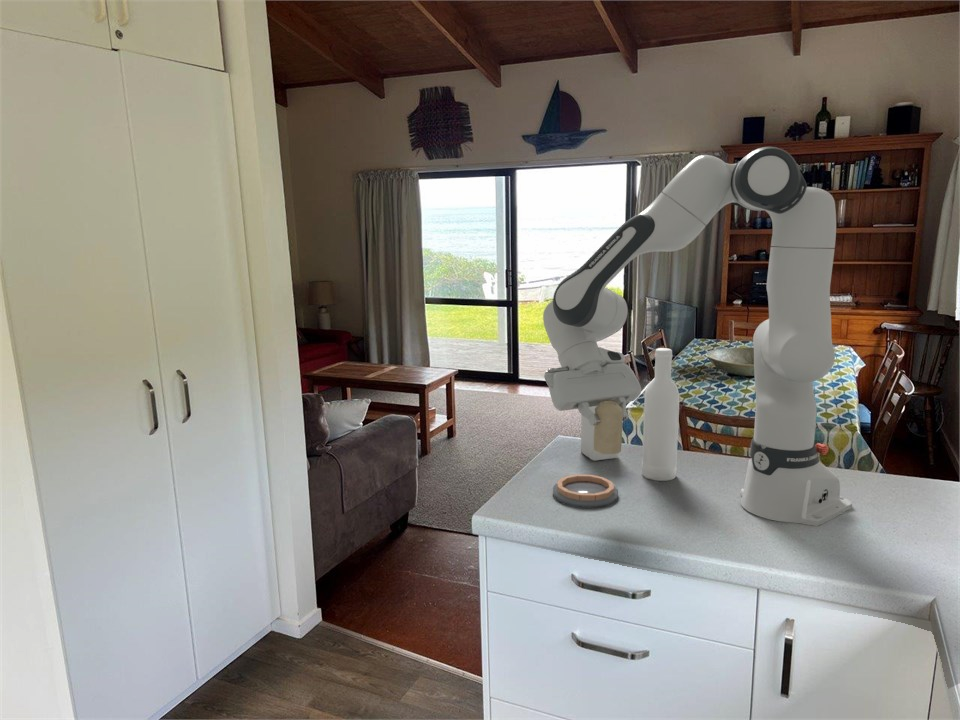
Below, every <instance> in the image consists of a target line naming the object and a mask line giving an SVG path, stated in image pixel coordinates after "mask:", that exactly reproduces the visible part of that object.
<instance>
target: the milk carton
mask: <svg viewBox="0 0 960 720" xmlns="http://www.w3.org/2000/svg"><path fill="white" fill-rule="evenodd" d="M596 407H597V406H593V407H589V409H590V410H591V411H592V412H593V413H594V414H595V408H596ZM580 418H581V419H580V420H581V422H580V423H581V424H580V425H581V426H580V428H581V429H580V452H581V453H582V454H583V455H585V456H586V457H587V458H589V459H590V460H591V461H601V460H608V459H609V460H610V459H618V458H619V453H620V452H619V453H616V454H603V453H599V452H596V451H595V450H594V425H593V426H591V425H590V423H589V420H588V419H587V418H586V417H584V416H583V415H582V414H581V413H580Z"/></svg>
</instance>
